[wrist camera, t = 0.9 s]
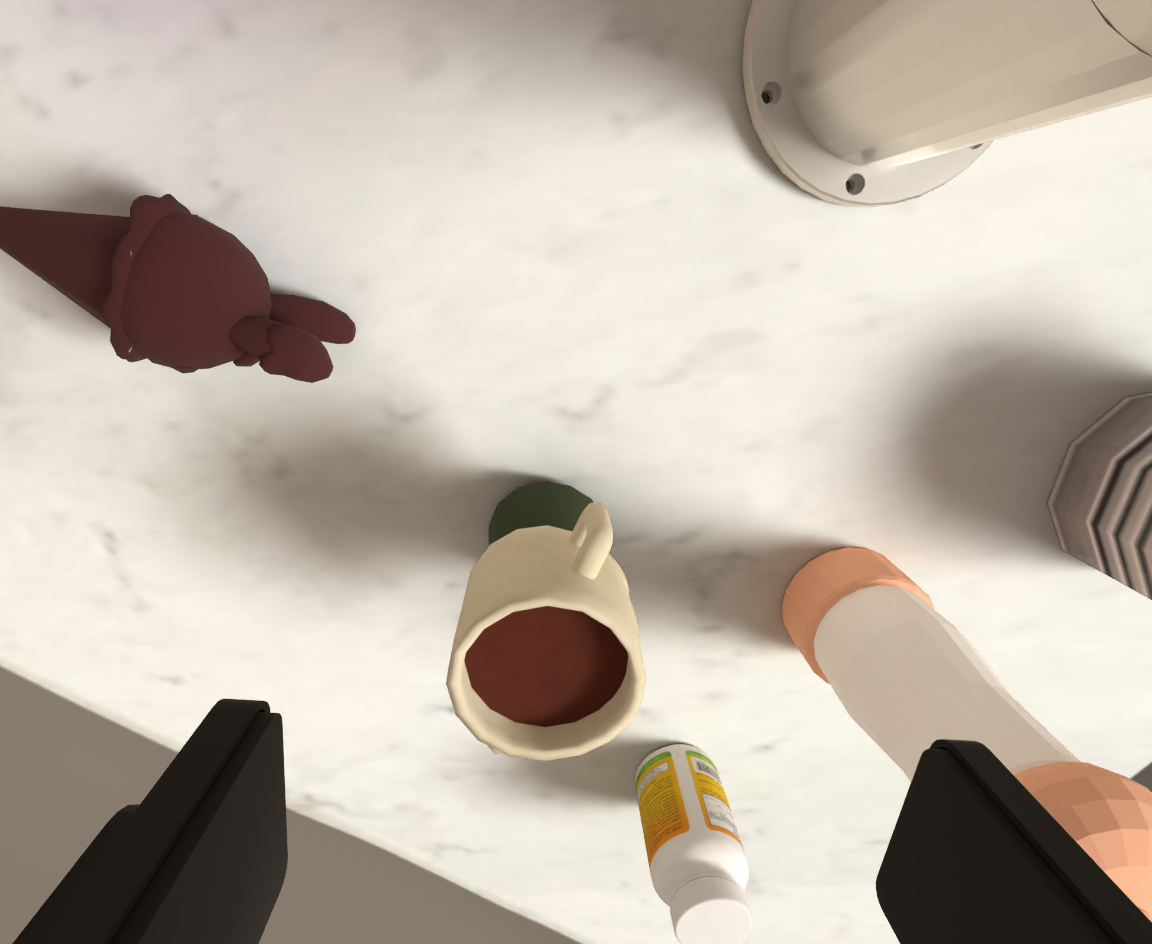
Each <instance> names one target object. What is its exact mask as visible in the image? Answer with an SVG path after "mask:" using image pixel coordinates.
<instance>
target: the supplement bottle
mask: <svg viewBox="0 0 1152 944" xmlns="http://www.w3.org/2000/svg"><path fill="white" fill-rule="evenodd" d="M635 785H636V793H637V800H638V805H639V810H640V816H641V822H642V827H643V833H644V839H645V845H646V850H647V856H648V862H649V868H650V874H651V878H652V882H653V886H654V888H655V890H656V892H657V894H658V895H659V897H660V898H661V899H662V900H663V901H664V902H665V903H666V904H667V905H668V906H670V913H671V918H672V923H673V927H674V931H675V935H676V937H677V939H678V941H679V942H680V943H681V944H739V943H740V942H742V941H743V940H744V939H745V938H746V937H747V935H748V934H749V932H750V929H751V926H752V916H751V913H750V909H749V906H748V902H747V898H746V895H745V893H744V889H745V887H746V884H747V881H748V875H749V868H748V862H747V858H746V855H745V851H744V849H743V845H742V842H741V840H740V837H739V834H738V831H737V828H736V825H735V822H734V819H733V816H732V813H731V810H730V807H729V804H728V801H727V798H726V795H725V792H724V789H723V786H722V783H721V780H720V777H719V774H718V772H717V769H716V767H715V765H714V762H713V761H712V759H711V758H710V757H709V756H708V755H707V754H706V753H705V752H704V751H702V750H700V749H698V748H696V747H694V746H690V745H685V744H676V745H670V746H666V747H663V748H660V749H658V750H656V751H654V752H652V753H651V754H649V755H648V756H647V757H646V758H645V759H644V760H643V761H642V762H641V764H640V766H639V767H638V770H637V773H636V778H635Z"/></svg>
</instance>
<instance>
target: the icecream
mask: <svg viewBox="0 0 1152 944" xmlns="http://www.w3.org/2000/svg"><path fill="white" fill-rule="evenodd" d="M0 248H1V249H2V250H3V251H5V252H6V253H7V254H9V255H10V256H12V257H13V258H14V259H16V260H17V261H19V262H20V263H21V264H23V265H24V266H25V267H27V268H28V269H30V270H31V271H32V272H34V273H35V274H36V275H38V276H39V277H41V278H42V279H43V280H45V281H46V282H47V283H49V284H50V285H52V286H53V287H54V288H56V289H57V290H58V291H60V292H61V293H63V294H64V295H65V296H67V297H68V298H69V299H71V300H72V301H74V302H75V303H76V304H78V305H79V306H80V307H82V308H83V309H85V310H86V311H87V312H89V313H90V314H91V315H93V316H94V317H96V318H97V319H98V320H100V321H101V322H102V323H104V324H105V325H107V326H108V327H109V328H111V338H110V342H111V344H112V346H113V348H114V350H115V352H116V354H117V356H119V357H120V358H122V359H127V361H128V362H135V361H140V360H143V359H146V358H148V359H149V360H150V361H151V362H153V363H156V364H159V365H163V366H167V367H171V368H173V369H175V370H177V371H179V372H181V373H190V372H195V371H196V370H198V369H207V368H212V367H215V366H218V365H221V364H224V363H227V362H230V361H233V363H234V364H235V365H236V366H252V365H254V364H255V363H257V362H259V361H260V363H259V365H260V366H261V367H262V368H263V370H264V371H265V372H267V373H269V374H275V375H284V376H287V377H290V378H293V379H295V380H299V381H305V382H311V383H313V382H316V381H320V380H323V379H326V378H328V377H329V376H330V374H331V372H332V370H333V365H332V362H331V359H330V356H329V354H328V352H327V350H326V348H325V347H324V345H323V344H322V343H321V341H324V342H329V343H335V344H346V343H350V342H351V341H353V339H354V337H355V332H356V328H355V324H354V322H353V321H352V320H351V319H350V318H349V316H348V315H347V314H346V313H344V312H342V311H340V310H338V309H336V308H335V307H333V306H331V305H329V304H327V303H325V302H323V301H318V300H314V299H309V298H304V297H299V296H294V295H270V289H269V283H268V278H267V276H266V274H265V273H264V271H263V269H262V268H261V266H260V264H259V263H258V261H257V260H256V258H255V256H254V255H253V254H252V253H251V252H250V251H249V250H248V249H247V248H246V247H245V246H244V245H243V244H242V243H241V242H240V241H239V240H238V239H237V238H236V237H235V236H234V235H232V234H231V233H229V232H227V231H225V230H223V229H221V228H219V227H218V226H216V225H214V224H212V223H210V222H208V221H206V220H205V219H203V218H201V217H199V216H197V215H191V213H190V212H189V210H188V209H187V208H186V207H185V206H183V205H182V204H180V203H179V202H178V201H177V200H176V199H175V198H174V197H173V196H172V195H171V194H166V195H164V196H162V197H161V198H158V197H153V196H149V195H144V196H139V197H138V198H136V199H135V200H134V201H133V203H132V205H131V207H130V217H121V216H108V215H96V214H83V213H71V212H58V211H46V210H33V209H21V208H10V207H0Z"/></svg>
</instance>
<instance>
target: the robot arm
mask: <svg viewBox="0 0 1152 944" xmlns="http://www.w3.org/2000/svg"><path fill="white" fill-rule="evenodd" d="M742 69H743V78H744V88H745V98H746V102H747V105H748V109H749V112H750V116H751V119H752V123H753V127H754V129H755V131H756V133H757V135H758V137H759V139H760V141H761V143H762V145H763V147H764V149H765V151H766V152H767V154H768V155H769V156H770V157H771V159H772V160H773V161H774V163H775V164H776V165H777V167H778V168H779V169H780V170H781V172H782V173H783V174H785V175H786V176H787V177H788V178H789V179H790V180H792V181H793V182H794V183H795V184H796V185H798V186H799V187H800V188H801V189H803V190H805V191H807V192H809V193H811V194H813V195H815V196H817V197H818V198H820V199H822V200H825V201H829V202H833V203H837V204H841V205H844V206H857V207H875V206H882V205H889V204H895V203H899V202H902V201H906V200H910V199H913V198H917V197H920V196H922V195H924V194H926V193H928V192H930V191H932V190H934V189H936V188H938V187H940V186H942V185H944V184H946V183H947V182H949V181H950V180H951V179H953V178H954V177H956V176H957V175H958V174H960V173H961V172H962V171H964V170H965V169H967V168H968V167H969V166H970V165H971V164H972V163H973V162H974V161H975V160H976V159H977V158H978V157H979V156H981V155H982V154H983V153H984V152H985V151H986V149H987V148H988V147H989V146H990V145H991V143H992V142H993V141H994V140H996V139H999V138H1003V137H1007V136H1010V135H1014V134H1017V133H1021V132H1025V131H1028V130H1032V129H1036V128H1039V127H1043V126H1047V125H1050V124H1054V123H1058V122H1061V121H1065V120H1069V119H1072V118H1076V117H1079V116H1083V115H1087V114H1090V113H1094V112H1098V111H1101V110H1105V109H1109V108H1112V107H1116V106H1120V105H1123V104H1127V103H1131V102H1134V101H1138V100H1142V99H1145V98H1149V97H1152V0H752V3H751V8H750V12H749V17H748V21H747V26H746V30H745V35H744V49H743V66H742ZM764 92H766V93H767V94H768V95H769V97H770V101H769V103H768V104H766V103H764V101H763V99H762V98H761V95H762V93H764ZM846 181H849V182H850V184H851V188H850V190H849V191H848V192H847V190H846ZM287 861H288V852H287V826H286V801H285V776H284V751H283V726H282V717H281V715H280V714H279V713H270V707H269V704H268V702H266V701H255V700H238V699H222V700H220V701H218V702H217V703H216V704H215V705H214V706H213V708H212V709H211V710H210V712H209V713H208V714H207V716H206V717H205V718H204V720H203V721H202V722H201V724H200V725H199V726H198V728H197V729H196V730H195V732H194V733H193V734H192V736H191V737H190V738H189V740H188V741H187V742H186V744H185V745H184V746H183V748H182V749H181V751H180V752H179V753H178V755H177V756H176V757H175V759H174V760H173V761H172V763H171V764H170V765H169V767H168V768H167V769H166V771H165V772H164V773H163V775H162V776H161V777H160V779H159V780H158V781H157V783H156V784H155V785H154V787H153V788H152V789H151V791H150V792H149V793H148V795H147V796H146V797H145V799H144V800H143V801H142V803H141V804H140V805H137V804H136V805H128V806H126V807H125V808H123V809H121V810H120V811H118V812H117V813H116V814H115V815H114V816H113V817H112V818H111V819H110V820H109V822H108V823H107V824H106V825H105V826H104V828H103V829H102V830H101V831H100V833H99V834H98V835H97V836H96V838H95V839H94V840H93V842H92V843H91V844H90V845H89V847H88V848H87V849H86V851H85V852H84V853H83V854H82V856H81V857H80V858H79V859H78V861H77V862H76V863H75V865H74V866H73V867H72V868H71V870H70V871H69V872H68V873H67V875H66V876H65V877H64V879H63V880H62V881H61V882H60V884H59V885H58V886H57V888H56V889H55V890H54V891H53V893H52V894H51V895H50V896H49V898H48V899H47V900H46V902H45V903H44V904H43V905H42V907H41V908H40V909H39V911H38V912H37V913H36V914H35V916H34V917H33V918H32V919H31V921H30V922H29V923H28V925H27V926H26V927H25V928H24V930H23V931H22V932H21V933H20V935H19V936H18V938H17V939H16V940H15V941H14V943H13V944H258V943H259V941H260V939H261V936H262V934H263V931H264V929H265V926H266V924H267V922H268V920H269V917H270V914H271V912H272V910H273V908H274V905H275V903H276V900H277V898H278V896H279V893H280V890H281V888H282V885H283V882H284V878H285V873H286V869H287ZM876 892H877V897H878V900H879V904H880V906H881V908H882V910H883V912H884V914H885V916H886V918H887V920H888V921H889V923H890V925H891V927H892V929H893V931H894V933H895V935H896V936H897V938H898V940H899V942H900V944H1152V922H1151V921H1150V920H1149V919H1148V918H1147V917H1146V916H1145V915H1144V914H1143V912H1142V911H1141V910H1140V909H1139V908H1138V907H1137V906H1136V905H1135V904H1134V903H1133V902H1132V901H1131V900H1130V899H1129V898H1128V897H1127V895H1126V894H1125V893H1124V892H1123V891H1122V890H1121V889H1120V888H1119V887H1118V886H1117V885H1116V884H1115V883H1114V882H1113V881H1112V879H1111V878H1110V877H1109V876H1108V875H1107V874H1106V873H1105V872H1104V871H1103V870H1102V869H1101V868H1100V867H1099V866H1098V865H1097V864H1096V862H1095V861H1094V860H1093V859H1092V858H1091V857H1090V856H1089V855H1088V854H1087V853H1086V852H1085V851H1084V850H1083V849H1082V848H1081V846H1080V845H1079V844H1078V843H1077V842H1076V841H1075V840H1074V839H1073V838H1072V837H1071V836H1070V835H1069V834H1068V833H1067V832H1066V831H1065V829H1064V828H1063V827H1062V826H1061V825H1060V824H1059V823H1058V822H1057V821H1056V820H1055V819H1054V818H1053V817H1052V816H1051V815H1050V813H1049V812H1048V811H1047V810H1046V809H1045V808H1044V807H1043V806H1042V805H1041V804H1040V803H1039V802H1038V801H1037V800H1036V799H1035V797H1034V796H1033V795H1032V794H1031V793H1030V792H1029V791H1028V790H1027V789H1026V788H1025V787H1024V786H1023V785H1022V784H1021V783H1020V782H1019V780H1018V779H1017V778H1016V777H1015V776H1014V775H1013V774H1012V773H1011V772H1010V771H1009V770H1008V769H1007V768H1006V767H1005V766H1004V764H1003V763H1002V762H1001V761H1000V760H999V759H998V758H997V757H996V756H995V755H994V754H993V753H992V752H991V751H990V750H989V749H988V748H987V747H986V746H985V745H983V744H982V743H980V742H977V741H967V740H949V739H939V740H936V741H934V742H933V743H932V745H931V746H930V748H929V749H926V750H925V751H923V753H922V755H921V757H920V760H919V762H918V765H917V768H916V771H915V773H914V776H913V779H912V782H911V784H910V787H909V790H908V793H907V796H906V798H905V801H904V804H903V807H902V809H901V812H900V815H899V818H898V820H897V823H896V826H895V829H894V831H893V834H892V837H891V840H890V842H889V845H888V848H887V851H886V853H885V856H884V859H883V862H882V865H881V867H880V870H879V873H878V876H877V880H876Z"/></svg>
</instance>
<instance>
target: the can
mask: <svg viewBox="0 0 1152 944" xmlns="http://www.w3.org/2000/svg"><path fill="white" fill-rule="evenodd" d="M1047 506H1048V509H1049V512H1050V515H1051V518H1052V521H1053V524H1054V528H1055V531H1056V534H1057V537H1058V540H1059V543H1060V547H1061V550H1063V551H1065V552H1067V553H1068V554H1070V555H1072V556H1074V557H1076V558H1077V559H1079V560H1081V561H1083V562H1085V563H1086V564H1088V565H1090V566H1092V567H1093V568H1095V569H1097V570H1099V571H1101V572H1102V573H1104V574H1106V575H1108V576H1110V577H1111V578H1113V579H1115V580H1117V581H1119V582H1120V583H1122V584H1124V585H1126V586H1128V587H1129V588H1131V589H1133V590H1135V591H1137V592H1138V593H1140V594H1142V595H1144V596H1146V597H1147V598H1149V599H1151V600H1152V392H1149V393H1144V394H1139V395H1134V396H1129V397H1124V398H1123V399H1122V400H1120V401H1119V402H1118V403H1117V404H1116V405H1115V406H1113V407H1112V408H1111V409H1110V410H1109V411H1107V412H1106V413H1105V414H1104V415H1103V416H1102V417H1100V418H1099V419H1098V420H1097V421H1096V422H1094V423H1093V424H1092V425H1091V426H1090V427H1089V428H1087V429H1086V430H1085V431H1084V432H1083V433H1081V434H1080V435H1079V436H1078V437H1077V438H1076V439H1074V440H1073V441H1072V442H1071V443H1070V444H1069V446H1068V448H1067V451H1066V453H1065V456H1064V459H1063V461H1062V464H1061V466H1060V469H1059V471H1058V474H1057V476H1056V479H1055V482H1054V484H1053V487H1052V489H1051V492H1050V494H1049V497H1048V500H1047Z"/></svg>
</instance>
